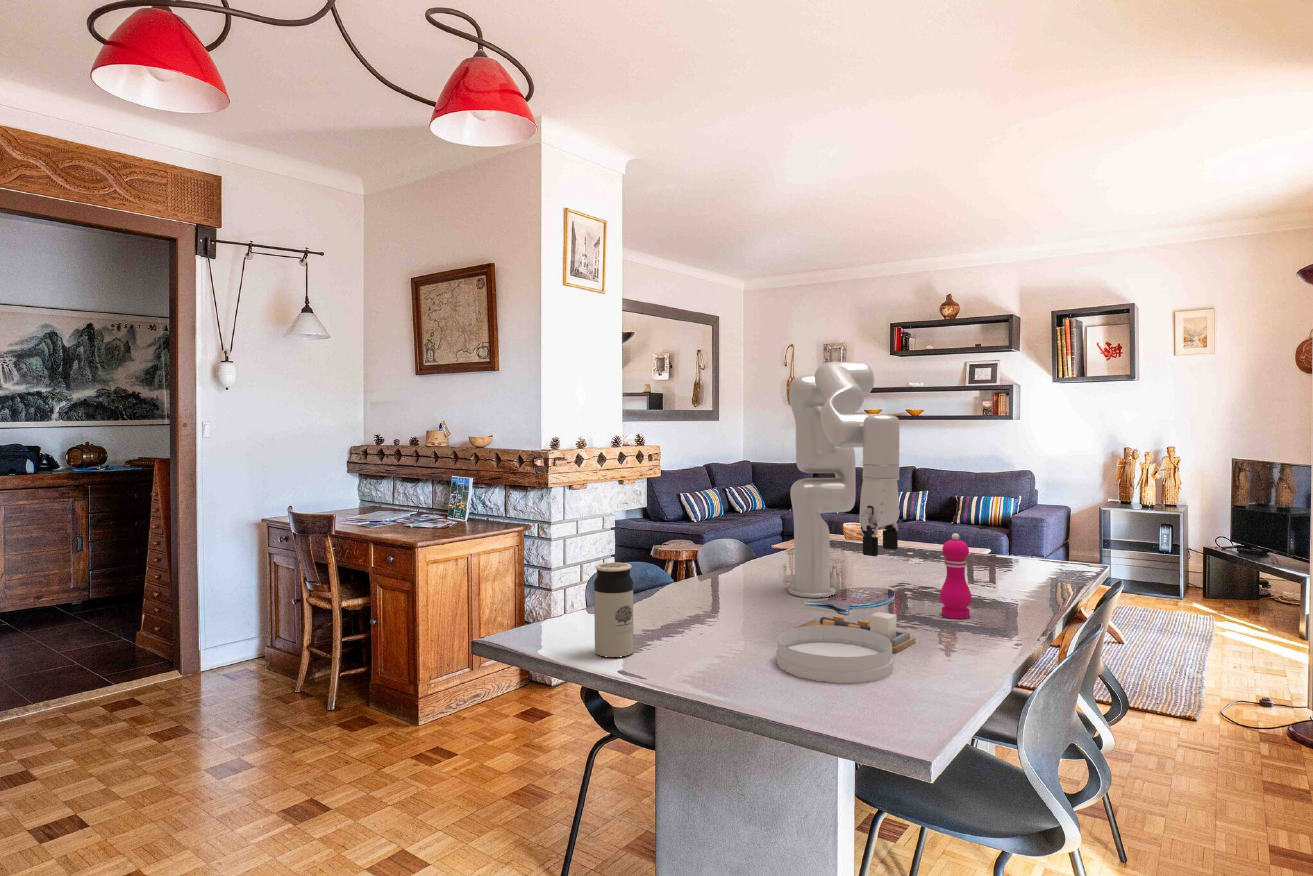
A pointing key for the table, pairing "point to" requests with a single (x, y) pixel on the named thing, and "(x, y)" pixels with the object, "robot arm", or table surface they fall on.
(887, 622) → the connector
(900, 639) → the end holder
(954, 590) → the pepper mill
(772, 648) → the table surface
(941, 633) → the table surface
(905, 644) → the board
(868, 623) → the clip
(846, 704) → the table surface
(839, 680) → the dish
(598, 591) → the travel mug
